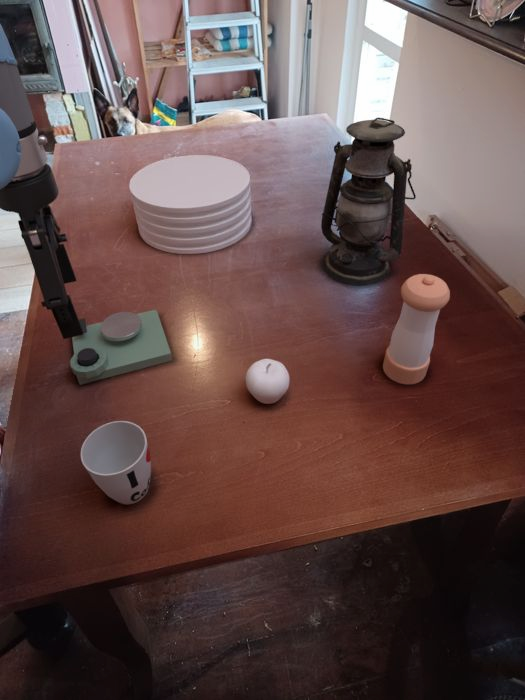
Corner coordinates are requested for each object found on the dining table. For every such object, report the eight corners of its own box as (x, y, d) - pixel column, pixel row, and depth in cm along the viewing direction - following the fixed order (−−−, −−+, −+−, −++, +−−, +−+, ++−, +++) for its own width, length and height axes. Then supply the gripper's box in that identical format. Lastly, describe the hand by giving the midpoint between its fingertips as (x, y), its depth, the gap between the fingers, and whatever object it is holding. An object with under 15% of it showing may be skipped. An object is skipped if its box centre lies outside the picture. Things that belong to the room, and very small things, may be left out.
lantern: (301, 266, 105) (308, 124, 84) (345, 230, 116) (360, 95, 95) (378, 297, 96) (407, 147, 76) (418, 255, 107) (452, 113, 86)
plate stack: (122, 249, 111) (110, 203, 103) (159, 194, 131) (151, 152, 123) (239, 258, 108) (237, 211, 100) (259, 200, 127) (258, 157, 119)
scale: (77, 389, 80) (71, 375, 78) (71, 337, 89) (65, 323, 87) (173, 364, 84) (170, 350, 81) (158, 316, 93) (155, 302, 91)
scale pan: (77, 351, 82) (76, 348, 81) (74, 321, 87) (72, 318, 87) (145, 335, 84) (144, 331, 84) (137, 306, 90) (136, 303, 90)
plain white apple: (269, 419, 75) (269, 385, 69) (237, 395, 78) (235, 361, 73) (298, 393, 79) (300, 359, 73) (266, 372, 82) (266, 338, 77)
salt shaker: (388, 349, 86) (410, 258, 72) (429, 361, 83) (459, 270, 70) (377, 376, 81) (398, 285, 68) (420, 390, 79) (450, 298, 65)
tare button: (80, 368, 79) (77, 362, 78) (78, 356, 81) (76, 350, 80) (98, 364, 80) (96, 357, 79) (96, 352, 82) (94, 345, 81)
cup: (141, 522, 63) (125, 483, 56) (89, 504, 65) (67, 464, 58) (169, 471, 68) (157, 429, 62) (120, 456, 70) (103, 414, 63)
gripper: (53, 210, 50) (104, 354, 64) (46, 129, 67) (88, 258, 81) (-24, 224, 48) (47, 369, 63) (-12, 137, 65) (42, 267, 80)
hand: (70, 307), depth 72 cm, fingers open, 13 cm apart
